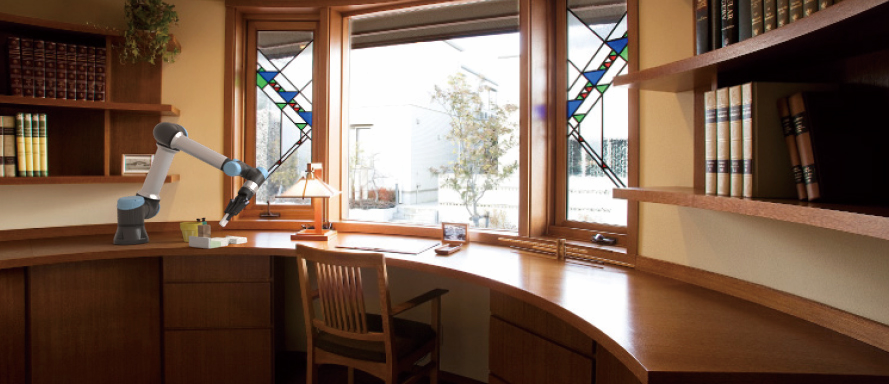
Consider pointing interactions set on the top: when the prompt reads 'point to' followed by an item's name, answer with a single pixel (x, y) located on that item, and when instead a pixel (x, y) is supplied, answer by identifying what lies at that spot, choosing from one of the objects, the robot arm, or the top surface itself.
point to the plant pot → (189, 229)
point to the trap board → (214, 241)
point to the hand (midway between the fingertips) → (221, 224)
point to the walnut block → (204, 231)
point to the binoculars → (202, 221)
